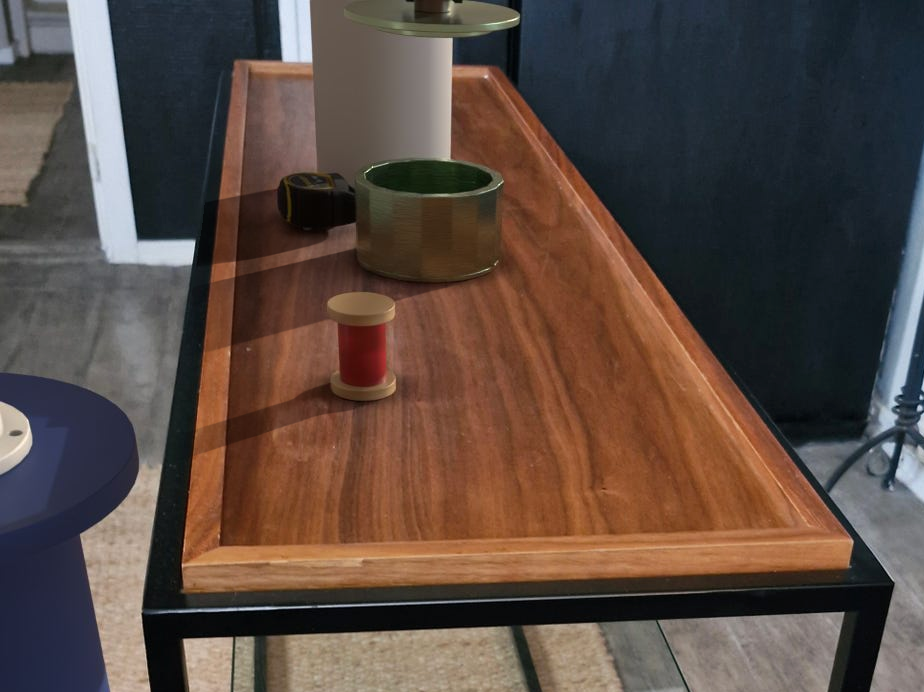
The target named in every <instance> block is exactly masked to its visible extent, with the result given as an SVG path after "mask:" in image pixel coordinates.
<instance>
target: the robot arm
mask: <svg viewBox="0 0 924 692" xmlns="http://www.w3.org/2000/svg"><path fill="white" fill-rule="evenodd" d="M452 1H453V2H454V3H462V2H463V0H452ZM406 2H414V0H406ZM31 446H32V433H31V429H30V425H29V421H28V419H27V418H26V417H25V416H24V414H23V413H21V412H20V411H18V410H17V409H15V408H14V407H12V406H10V405H8V404H5V403H3V402H0V475H2V474H4V473H6V472H8V471H9V470H11V469H12V468H13V467H15V466H16V465H17V464H19V463H20V462H21V461H22V460H23V458H24V457H25V456H26V455H27V454H28V453H29V450H30V448H31Z"/></svg>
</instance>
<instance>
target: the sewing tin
mask: <svg viewBox="0 0 924 692" xmlns="http://www.w3.org/2000/svg"><path fill="white" fill-rule="evenodd" d="M354 175H355V210H356V222H355V240H356V242H355V243H356V253H357V261H358V263H359V264H360V266H361V267H362V268H364V269H365V270H366V271H368V272H371V273H373V274H374V275H378V276H381V277H385V278H389V279H393V280H398V281H405V282H412V283H413V282H414V283H436V284H437V283H453V282H461V281H468V280H472V279H476V278H479V277H482V276H485V275H487V274H490V273H491V272H493V271H494V270H495V269H497V267H498V265H499V263H500V259H501V254H502V253H501V251H502V228H503V227H502V226H503V208H504V207H503V202H504V182H505V181H504V179H503V177H502V175H501V174H500V172H499V171H496V170H494V169H492V168H490V167H488V166H487V165H486V166H485V165H483V164H479V163H474V162H470V161H466V160H462V159H461V160H460V159H452V158H450V159H443V158H402V159H392V160H384V161H379V162H376V163H372V164H369V165H365V166H363V167H362V168H360V169H359V170H358V171H356V172H355V174H354Z"/></svg>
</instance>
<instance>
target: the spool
mask: <svg viewBox="0 0 924 692" xmlns="http://www.w3.org/2000/svg"><path fill="white" fill-rule="evenodd" d="M326 309H327V310H326V311H327V313H326V314H327V317H328V318H329V319H330V320H331V321H333V322H335V323H337V342H338V343H337V346H338V367H339V369H337V370H336V371H334V372H333V373H332V374H330V375H331V376H330V378H329V379H330V381H329V382H330V389H331V391H332V393H333V394H334V395H335V396H337V397H340V398H342V399H344V400H351V401H356V402H358V401H359V402H369V401H371V402H372V401H377V400H378V401H379V400H381V399H385V398H387V397H389V396H391V395H392V394H394V393H395V391H396V388H397V382H396V381H397V379H396V378H397V377H396V375H395V374H394V373H393V372H392V371H391V370H388V369H387V336H386V335H387V328H386V327H387V326H386V325H387V323H388V322H390V321H392V320H393V319H394V318H395V316H396V303H395V301H394V300H393V299H392V298H391V297H389V296H387V295H384V294H382V293H381V294H380V293H376V292H369V291H368V292H367V291H366V292H365V291H354V292H352V291H351V292H345V293H340V294H337V295H335V296H332V297H330V298H329V299H328V300H327V302H326Z"/></svg>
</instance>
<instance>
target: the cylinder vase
mask: <svg viewBox="0 0 924 692" xmlns="http://www.w3.org/2000/svg"><path fill="white" fill-rule="evenodd" d="M356 1H361V0H309V14H310V15H309V17H310V18H309V19H310V39H311V60H312V62H311V63H312V83H313V85H312V87H313V105H314V127H315V129H314V130H315V149H316V171H317V172H316V173H320V174H330V173H338V174H340V175H341V176H342V177H343V178H344V179H345V180H346V181H347V183H348V184H350V185H351V186H352V187H353V188H354V189H355V175H354V174H355V172H356V171H358V170H359V169H360V168H362V167H363V166H365V165H369V164H372V163H376V162H379V161H384V160H392V159H402V158H443V159H451V154H452V153H451V151H452V148H451V147H452V146H451V145H452V143H451V142H452V141H451V140H452V99H453V98H452V96H453V95H452V94H453V93H452V90H453V87H452V86H453V41H454V40H453V39H454V38H428V37H414V36H405V35H398V34H392V33H387V32H383V31H379V30H377V29H375V28H373V27H372V26H369V25H364V24H360V23H357V22H354V21H351V20H349V19H347V18H346V17H345V16H344V7H345V5H347V4H349V3H352V2H356Z"/></svg>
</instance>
